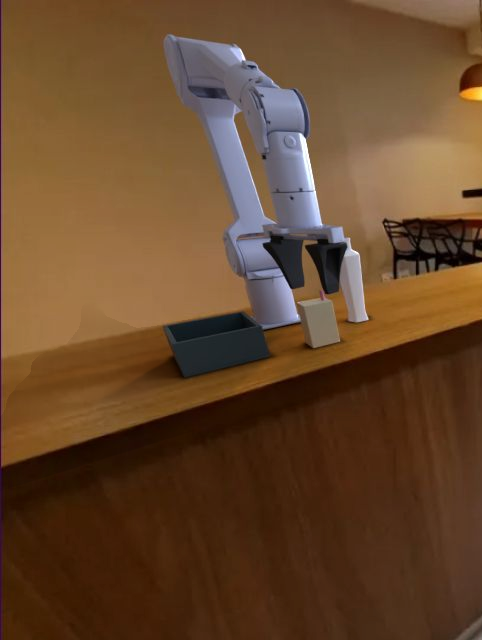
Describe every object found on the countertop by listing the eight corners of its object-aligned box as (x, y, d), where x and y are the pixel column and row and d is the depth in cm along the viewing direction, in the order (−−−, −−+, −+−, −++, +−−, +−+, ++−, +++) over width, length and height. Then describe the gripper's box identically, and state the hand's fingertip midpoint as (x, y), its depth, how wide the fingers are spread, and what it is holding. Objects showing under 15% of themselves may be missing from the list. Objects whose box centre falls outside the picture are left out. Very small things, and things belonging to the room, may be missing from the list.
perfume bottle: (364, 323, 82) (349, 240, 76) (342, 322, 83) (327, 240, 77) (375, 316, 86) (363, 237, 80) (355, 315, 87) (341, 236, 81)
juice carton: (305, 343, 73) (293, 292, 70) (332, 336, 76) (322, 287, 72) (313, 348, 71) (301, 296, 67) (340, 341, 74) (330, 291, 70)
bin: (173, 356, 69) (162, 325, 67) (251, 339, 76) (243, 311, 73) (184, 377, 61) (172, 344, 59) (270, 356, 68) (261, 325, 66)
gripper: (232, 193, 60) (259, 291, 66) (303, 193, 54) (326, 301, 60) (278, 190, 66) (299, 281, 71) (348, 190, 59) (364, 290, 65)
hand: (314, 290), depth 66 cm, fingers open, 7 cm apart
